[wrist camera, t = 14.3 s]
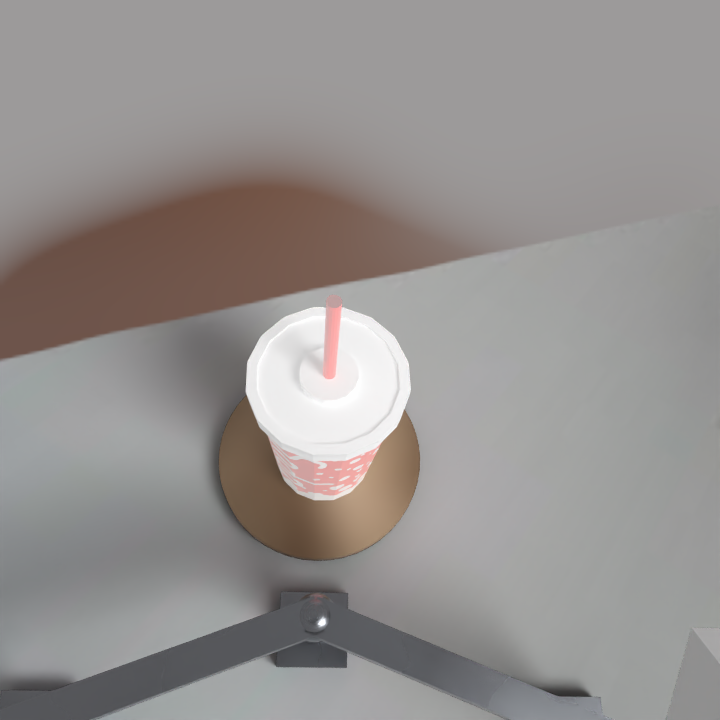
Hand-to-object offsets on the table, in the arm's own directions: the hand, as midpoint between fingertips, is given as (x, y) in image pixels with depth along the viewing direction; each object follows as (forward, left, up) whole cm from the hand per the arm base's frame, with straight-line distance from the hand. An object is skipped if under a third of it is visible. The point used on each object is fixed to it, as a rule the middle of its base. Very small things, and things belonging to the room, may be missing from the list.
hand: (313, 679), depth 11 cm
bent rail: (0, 0, -18) cm, 18 cm away
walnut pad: (0, -10, -18) cm, 21 cm away
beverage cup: (0, -10, -17) cm, 20 cm away
